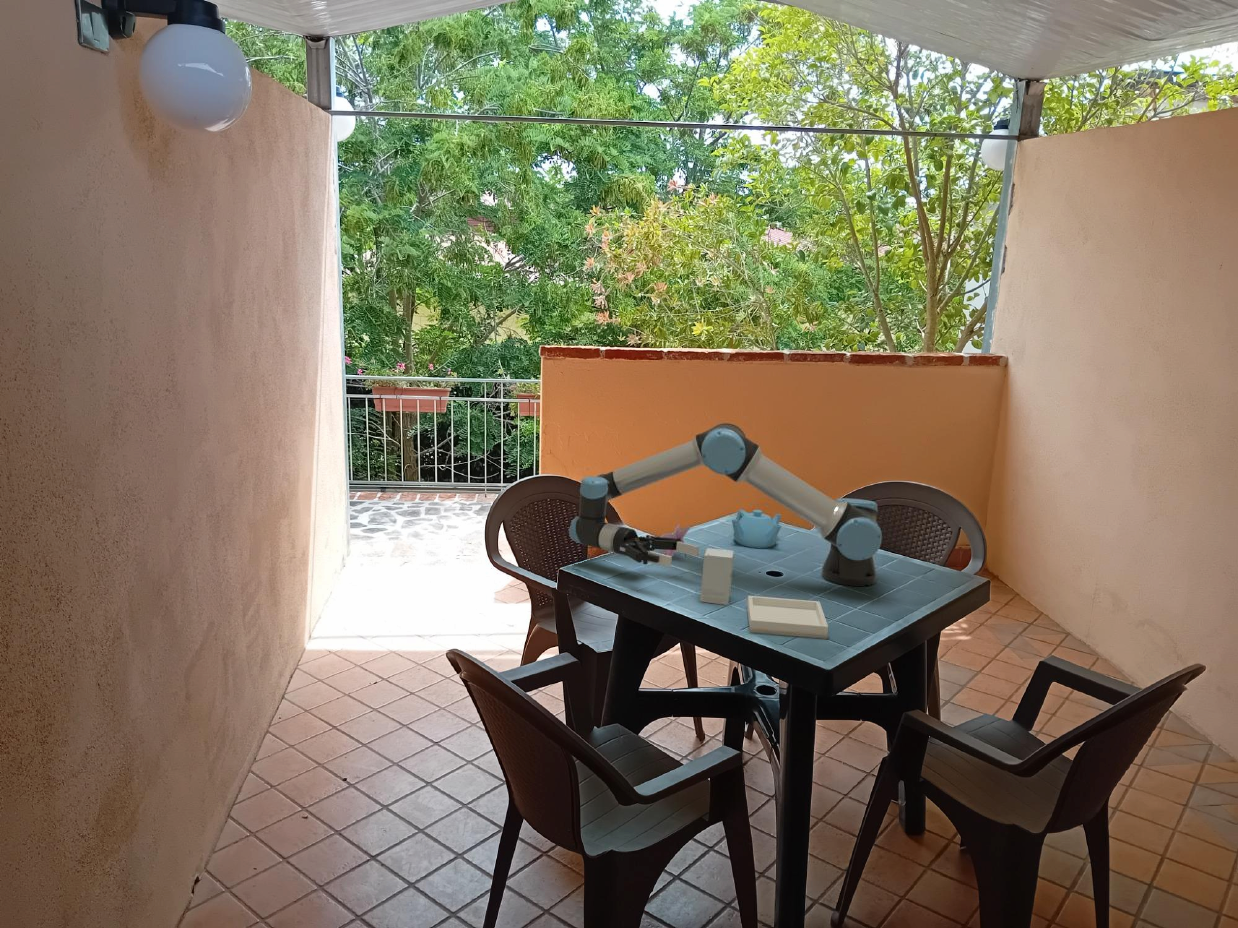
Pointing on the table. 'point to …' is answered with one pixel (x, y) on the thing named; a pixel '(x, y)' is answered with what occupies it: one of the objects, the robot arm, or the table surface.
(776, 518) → the teapot
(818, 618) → the tray
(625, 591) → the table surface
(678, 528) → the lily
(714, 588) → the supplement box
